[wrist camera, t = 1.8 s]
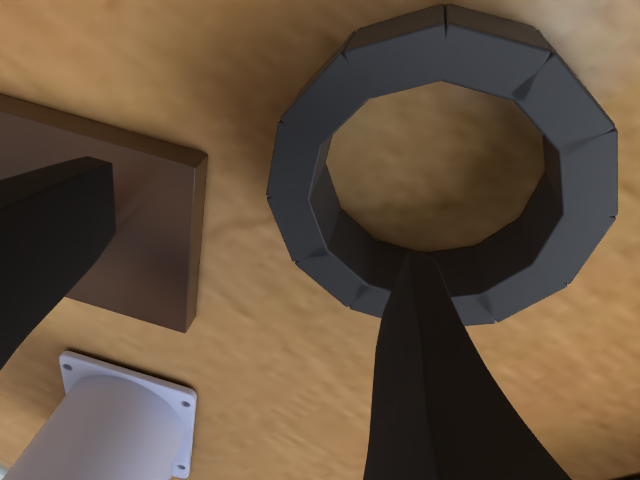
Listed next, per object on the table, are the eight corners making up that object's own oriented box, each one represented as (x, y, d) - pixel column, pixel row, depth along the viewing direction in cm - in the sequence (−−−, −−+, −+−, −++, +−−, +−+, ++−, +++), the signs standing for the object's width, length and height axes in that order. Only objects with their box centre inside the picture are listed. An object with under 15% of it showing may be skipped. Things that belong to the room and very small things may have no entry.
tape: (508, 307, 20) (517, 360, 17) (272, 238, 20) (251, 280, 18) (662, 60, 14) (706, 91, 11) (323, -31, 14) (300, -19, 12)
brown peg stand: (196, 316, 24) (124, 438, 18) (23, 264, 24) (-97, 368, 19) (208, 153, 18) (112, 257, 13) (-13, 89, 19) (-196, 165, 13)
